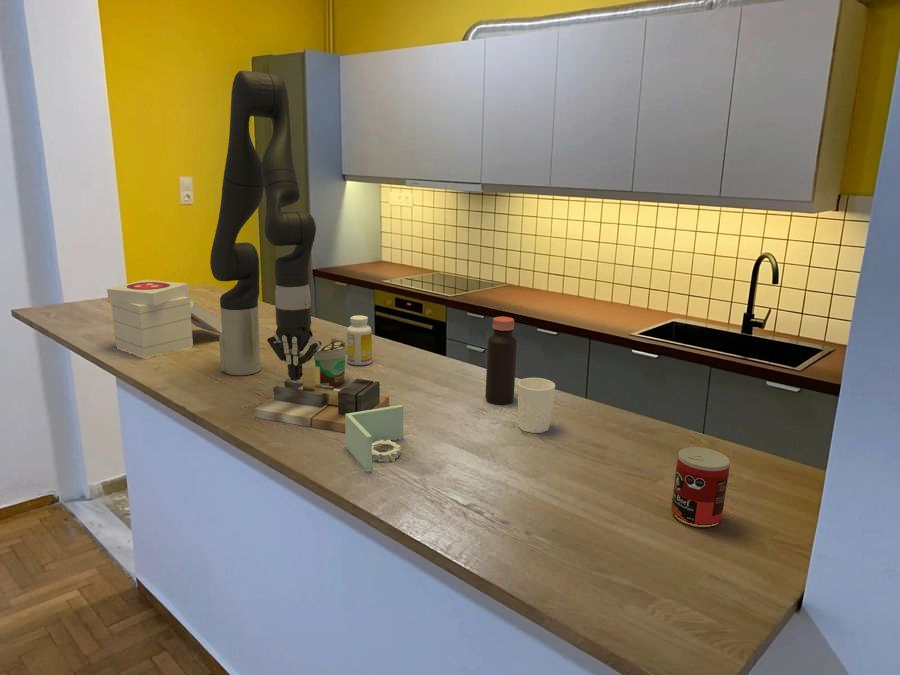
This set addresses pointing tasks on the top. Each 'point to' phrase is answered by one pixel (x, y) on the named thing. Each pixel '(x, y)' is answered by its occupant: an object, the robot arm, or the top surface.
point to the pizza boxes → (157, 317)
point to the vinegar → (501, 362)
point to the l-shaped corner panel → (374, 434)
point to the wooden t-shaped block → (317, 384)
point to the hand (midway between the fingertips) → (295, 379)
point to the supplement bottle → (359, 341)
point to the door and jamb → (321, 404)
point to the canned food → (700, 485)
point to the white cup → (535, 404)
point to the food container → (332, 363)
